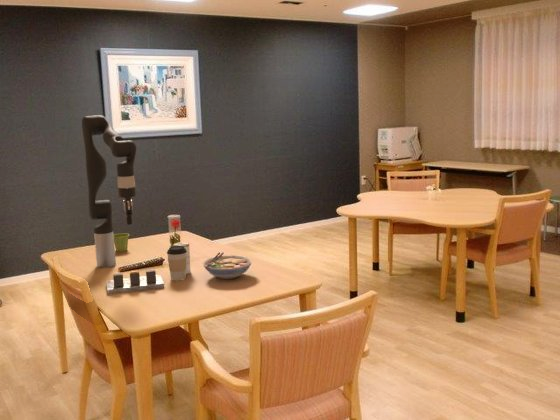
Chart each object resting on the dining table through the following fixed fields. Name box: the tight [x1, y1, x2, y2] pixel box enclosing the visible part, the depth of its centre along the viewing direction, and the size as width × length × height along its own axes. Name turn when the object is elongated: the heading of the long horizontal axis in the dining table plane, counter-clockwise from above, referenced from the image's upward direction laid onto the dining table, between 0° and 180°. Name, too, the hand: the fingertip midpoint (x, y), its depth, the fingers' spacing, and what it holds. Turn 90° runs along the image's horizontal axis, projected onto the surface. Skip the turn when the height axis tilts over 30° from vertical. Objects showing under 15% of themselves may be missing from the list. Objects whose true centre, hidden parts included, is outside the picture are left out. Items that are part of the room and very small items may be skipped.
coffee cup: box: [166, 245, 187, 281], centre depth 273 cm, size 9×9×15 cm
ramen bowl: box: [202, 252, 253, 280], centre depth 273 cm, size 25×23×8 cm
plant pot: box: [113, 233, 130, 253], centre depth 327 cm, size 9×9×9 cm
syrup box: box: [172, 241, 192, 275], centre depth 280 cm, size 6×6×14 cm
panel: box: [106, 274, 165, 296], centre depth 263 cm, size 14×24×2 cm, turn 108°
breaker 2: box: [145, 269, 157, 283], centre depth 262 cm, size 2×4×5 cm, turn 108°
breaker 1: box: [112, 272, 124, 287], centre depth 258 cm, size 2×4×5 cm, turn 108°
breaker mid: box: [129, 270, 141, 285], centre depth 260 cm, size 2×4×6 cm, turn 108°
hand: (129, 224), depth 265 cm, fingers closed
